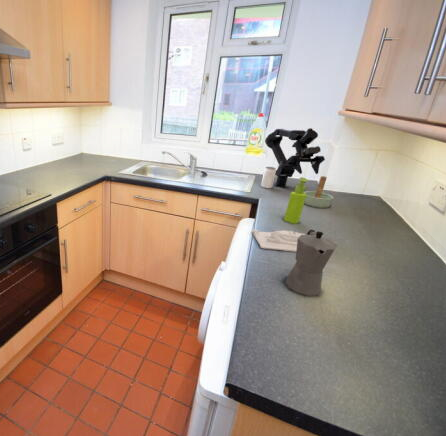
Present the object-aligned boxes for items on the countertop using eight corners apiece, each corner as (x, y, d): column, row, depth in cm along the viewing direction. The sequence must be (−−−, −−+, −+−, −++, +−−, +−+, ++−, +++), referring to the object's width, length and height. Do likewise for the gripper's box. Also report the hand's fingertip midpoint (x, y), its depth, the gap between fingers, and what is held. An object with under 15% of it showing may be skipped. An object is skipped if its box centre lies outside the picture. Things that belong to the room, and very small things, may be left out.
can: (269, 185, 186) (274, 166, 181) (273, 188, 180) (278, 169, 175) (259, 185, 186) (263, 166, 181) (262, 188, 180) (267, 168, 175)
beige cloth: (246, 234, 122) (248, 223, 120) (303, 234, 121) (306, 223, 119) (264, 254, 106) (266, 242, 104) (329, 254, 106) (332, 242, 104)
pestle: (310, 200, 159) (317, 175, 153) (320, 202, 157) (328, 176, 152) (311, 203, 155) (319, 177, 149) (321, 204, 153) (330, 178, 148)
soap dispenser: (285, 223, 131) (297, 179, 124) (283, 217, 137) (294, 175, 130) (300, 225, 130) (313, 181, 122) (297, 219, 136) (309, 177, 128)
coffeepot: (325, 304, 80) (347, 245, 73) (287, 295, 83) (304, 238, 76) (314, 274, 94) (332, 223, 86) (281, 268, 97) (296, 217, 90)
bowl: (300, 198, 165) (302, 189, 163) (328, 202, 160) (330, 193, 158) (302, 205, 154) (304, 196, 152) (332, 210, 148) (335, 200, 147)
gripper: (295, 140, 159) (302, 165, 153) (327, 141, 160) (336, 166, 154) (283, 152, 169) (289, 176, 163) (314, 152, 170) (321, 176, 164)
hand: (309, 173), depth 161 cm, fingers open, 9 cm apart
